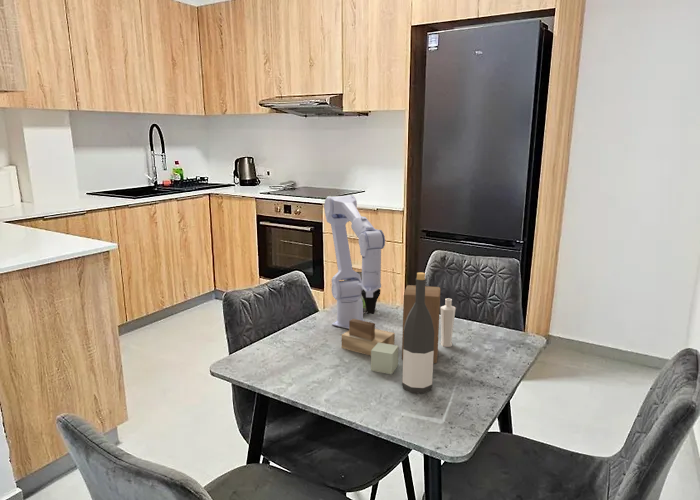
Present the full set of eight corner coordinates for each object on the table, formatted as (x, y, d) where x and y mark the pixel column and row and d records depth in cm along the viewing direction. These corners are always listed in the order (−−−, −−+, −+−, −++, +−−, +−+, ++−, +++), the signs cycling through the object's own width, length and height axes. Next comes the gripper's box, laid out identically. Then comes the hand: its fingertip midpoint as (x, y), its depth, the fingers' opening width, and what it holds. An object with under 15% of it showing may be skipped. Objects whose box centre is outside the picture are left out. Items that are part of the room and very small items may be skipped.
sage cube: (377, 362, 139) (378, 342, 137) (398, 365, 137) (398, 345, 135) (370, 370, 133) (371, 350, 132) (391, 374, 131) (392, 353, 130)
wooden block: (436, 364, 137) (439, 296, 133) (401, 361, 139) (403, 294, 135) (437, 350, 147) (440, 286, 143) (404, 347, 149) (406, 284, 145)
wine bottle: (426, 397, 119) (431, 279, 113) (396, 389, 123) (399, 274, 117) (437, 383, 126) (442, 271, 120) (408, 376, 130) (411, 267, 124)
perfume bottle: (453, 343, 152) (455, 297, 149) (454, 348, 148) (457, 301, 145) (438, 342, 153) (440, 296, 150) (439, 347, 148) (441, 301, 145)
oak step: (358, 337, 156) (358, 324, 155) (394, 346, 150) (394, 332, 149) (341, 348, 148) (341, 334, 147) (378, 357, 141) (379, 343, 140)
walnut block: (353, 334, 148) (353, 318, 147) (374, 339, 144) (374, 323, 143) (349, 336, 146) (349, 320, 145) (371, 341, 142) (371, 325, 141)
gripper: (360, 264, 153) (359, 305, 156) (355, 275, 139) (355, 320, 142) (382, 264, 153) (381, 306, 155) (380, 276, 138) (379, 321, 141)
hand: (370, 313), depth 149 cm, fingers closed
